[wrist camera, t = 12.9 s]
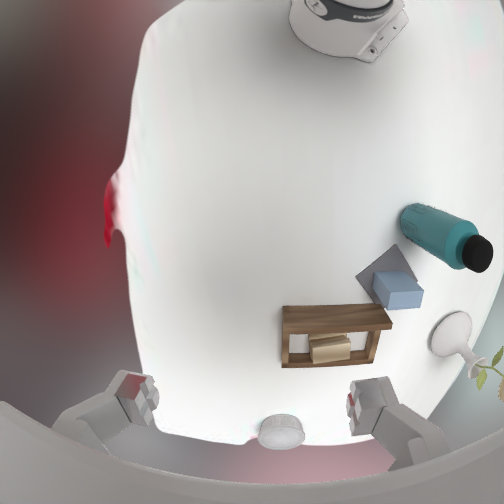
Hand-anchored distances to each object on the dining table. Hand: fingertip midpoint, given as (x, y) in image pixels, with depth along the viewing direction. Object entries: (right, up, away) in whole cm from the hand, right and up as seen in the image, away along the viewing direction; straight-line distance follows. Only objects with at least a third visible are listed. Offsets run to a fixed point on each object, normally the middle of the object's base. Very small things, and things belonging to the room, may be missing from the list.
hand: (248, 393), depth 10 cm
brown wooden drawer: (+15, -9, +39) cm, 42 cm away
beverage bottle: (+27, +11, +31) cm, 43 cm away
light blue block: (+24, +1, +34) cm, 42 cm away
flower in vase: (+44, -11, +37) cm, 58 cm away
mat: (+24, +1, +34) cm, 42 cm away
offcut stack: (+14, -11, +39) cm, 43 cm away
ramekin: (+8, -37, +49) cm, 62 cm away
